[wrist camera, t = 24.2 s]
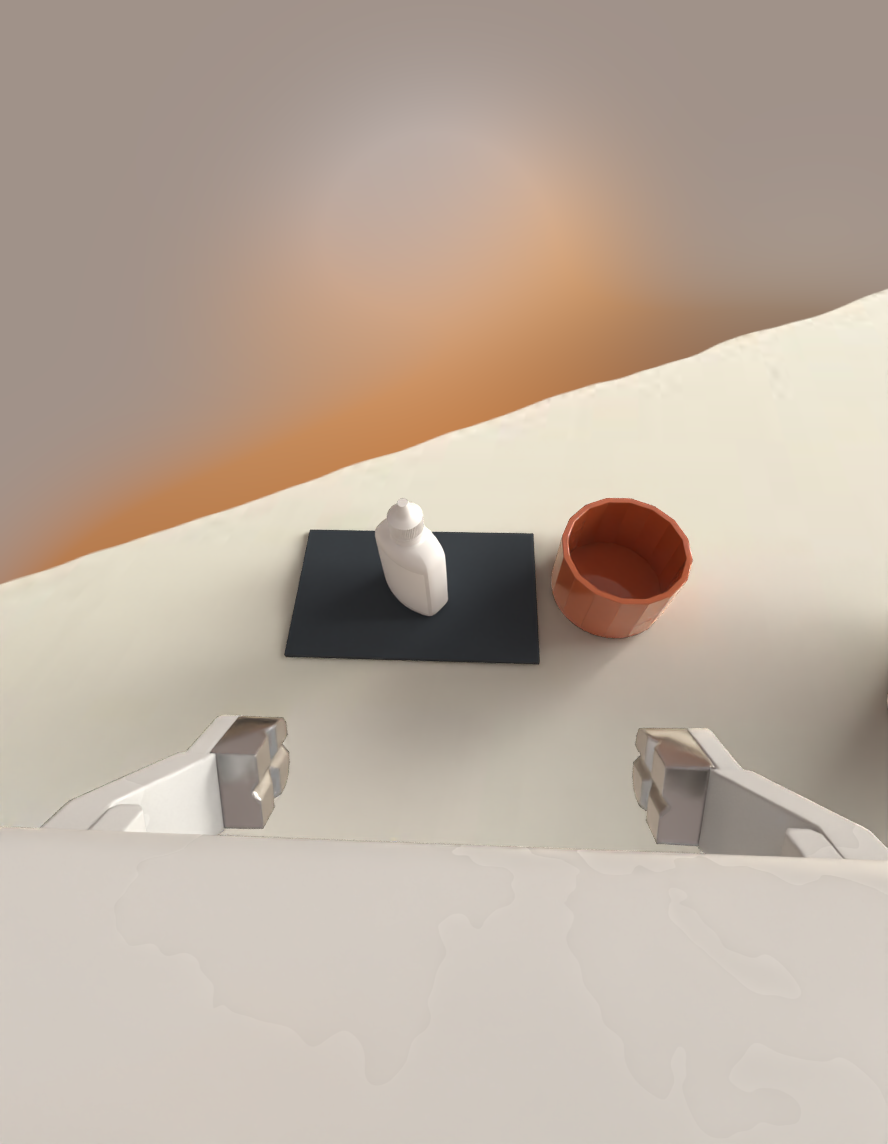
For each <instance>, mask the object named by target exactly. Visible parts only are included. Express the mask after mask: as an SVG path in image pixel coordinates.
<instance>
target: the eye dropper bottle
mask: <svg viewBox="0 0 888 1144" xmlns="http://www.w3.org/2000/svg"><path fill="white" fill-rule="evenodd" d="M375 538H376V543H377V547H378V551H379V555H380V559H381V563H382V567H383V571H384V575H385V578H386V581H387V584H388V586H389V588H390V589H391V591H392V593H393V594H394V595H395V597H396V598H397V599H398V600H399V601H400V602H401V603H402V604H404V605H405V606H406V607H408V608H409V609H411V610H413V611H415V612H417V613H420V614H422V615H426V616H433V615H434V614H436V613H437V612H438V611H439V610H440V609H441V608H442V607H443V606H444V605H445V604H446V603H447V601H448V591H447V575H446V561H445V554H444V551H443V549H442V547H441V545H440V543H439V541H438V540H437V539H436V537H435V536H434V535H433V533H432V532H431V531H430V530H429V529H428V528H427V527H425V526H424V519H423V512H422V510H421V508H420V507H419V506H418V505H417V504H415V503H413V502H408V500H407V499H405V498H401V499H399V500H398V501H397V503H396V504H395V505H393V506H392V507H391V508H390V509H389V510H388V513H387V518H386V519H385V520H384V521H382V522H381V523H380V524H379V525H378V526H377V528H376V530H375Z"/></svg>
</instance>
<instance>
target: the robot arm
mask: <svg viewBox="0 0 888 1144" xmlns="http://www.w3.org/2000/svg"><path fill="white" fill-rule="evenodd" d="M287 735H288V733H287V724H286V721H285V719H284V718H282V717H261V716H241V715H220V716H217V717H216V718H215V719H214V720H213V722H212V723H211V724H210V725H209V726H208V727H207V728H206V729H205V730H204V732H203V733H202V734H201V735H200V736H199V737H198V738H197V739H196V741H195V742H194V743H193V744H192V745H191V746H190V747H189V748H188V749H187V751H186V752H178V753H175V754H173V755H171V756H169V757H166V758H164V759H162V760H160V761H157V762H155V763H153V764H151V765H148V766H146V767H144V768H142V769H139V770H137V771H135V772H133V773H130V774H128V775H126V776H123V777H121V778H119V779H117V780H114V781H112V782H110V783H108V784H105V785H103V786H101V787H99V788H96V789H94V790H92V791H90V792H87V793H85V794H83V795H81V796H78V797H76V798H74V799H72V800H69V801H68V802H67V803H66V804H65V805H64V806H63V807H61V808H60V809H59V810H58V811H57V812H56V813H55V814H54V815H53V816H52V817H51V818H49V819H48V820H47V821H46V822H45V823H44V824H43V825H42V826H41V827H40V828H23V827H0V1144H888V848H887V847H886V846H885V845H884V844H883V843H882V842H881V841H880V840H879V839H878V838H877V837H876V836H875V835H874V834H873V833H872V832H871V831H870V830H868V829H866V828H864V827H862V826H860V825H858V824H856V823H854V822H852V821H850V820H848V819H846V818H844V817H842V816H840V815H838V814H836V813H834V812H832V811H830V810H828V809H826V808H824V807H822V806H820V805H818V804H816V803H814V802H813V801H811V800H809V799H807V798H805V797H803V796H801V795H799V794H797V793H795V792H793V791H791V790H789V789H787V788H785V787H783V786H781V785H779V784H777V783H775V782H773V781H771V780H769V779H767V778H765V777H763V776H761V775H759V774H757V773H755V772H753V771H751V770H743V769H742V768H741V767H740V765H739V764H738V763H737V762H736V761H735V759H734V758H733V757H732V756H731V754H730V753H729V752H728V751H727V750H726V748H725V747H724V746H723V745H722V743H721V742H720V741H719V740H718V739H717V737H716V736H715V735H714V734H713V733H712V731H711V730H709V729H707V728H639V729H638V732H637V735H636V743H635V746H636V748H637V750H638V752H639V753H640V756H639V757H638V758H637V759H636V760H635V761H634V762H633V773H632V779H633V789H634V793H635V797H636V800H637V802H638V804H639V806H640V807H641V808H643V809H644V810H645V811H647V815H646V822H647V824H648V826H649V829H650V831H651V833H652V835H653V837H654V839H655V841H656V844H670V845H686V846H699V847H698V848H699V849H700V850H701V851H702V852H703V853H705V854H702V853H676V852H650V851H623V850H597V849H571V848H544V847H518V846H492V845H466V844H440V843H414V842H388V841H362V840H336V839H310V838H284V837H258V836H232V835H219V834H220V833H221V832H223V831H224V828H237V829H263V828H264V826H265V825H266V823H267V821H268V819H269V817H270V815H271V813H272V811H273V809H274V808H275V806H274V798H276V797H277V796H279V795H280V794H282V792H283V790H284V788H285V786H286V783H287V779H288V775H289V765H290V758H289V751H288V750H287V749H286V748H285V746H284V745H283V742H284V740H285V739H286V737H287Z"/></svg>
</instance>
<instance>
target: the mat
mask: <svg viewBox="0 0 888 1144" xmlns="http://www.w3.org/2000/svg"><path fill="white" fill-rule="evenodd" d="M432 533H433V535H434V536H435V537H436V539H437V540H438V541H439V543H440V545H441V547H442V549H443V551H444V554H445V561H446V575H447V591H448V601H447V603H446V604H445V605H444V606H443V607H442V608H441V609H440V610H439V611H438V612H437V613H436V614H434V615H433V616H426V615H422V614H420V613H417V612H415V611H413V610H411V609H409V608H408V607H406V606H405V605H404V604H402V603H401V602H400V601H399V600H398V599H397V598H396V597H395V595H394V594H393V593H392V591H391V589H390V588H389V586H388V584H387V581H386V578H385V575H384V571H383V567H382V563H381V559H380V555H379V551H378V547H377V543H376V538H375V531H353V530H310V532H309V537H308V542H307V547H306V552H305V557H304V562H303V566H302V571H301V576H300V581H299V586H298V591H297V596H296V600H295V605H294V610H293V615H292V620H291V625H290V630H289V635H288V639H287V644H286V649H285V654H284V655H285V656H286V657H314V658H348V659H382V660H416V661H450V662H484V663H518V664H539V662H540V661H539V641H538V620H537V600H536V580H535V560H534V540H533V534H527V533H469V532H432Z"/></svg>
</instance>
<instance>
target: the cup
mask: <svg viewBox="0 0 888 1144" xmlns="http://www.w3.org/2000/svg"><path fill="white" fill-rule="evenodd" d="M692 561H693V559H692V554H691V550H690V545H689V541H688V538H687V537H686V535H685V534H684V533H683V531H682V530H681V529H680V527H679V526H678V524H677V523H676V522H675V520H674V519H672V518H671V517H669V516H668V515H666V514H665V513H664V512H662V511H661V510H659V509H658V508H656V507H655V506H653V505H649V504H646V503H643V502H640V501H637V500H634V499H630V498H606V499H602V500H599V501H596V502H593V503H590V504H587V505H585V506H584V507H583V508H581V509H580V510H579V511H578V512H577V513H576V514H574V515H573V516H572V517H571V518H570V519H569V521H568V524H567V526H566V528H565V531H564V533H563V535H562V538H561V542H560V545H559V549H558V553H557V556H556V560H555V563H554V567H553V570H552V574H551V577H552V579H551V586H552V592H553V596H554V599H555V601H556V603H557V605H558V607H559V608H560V610H561V611H562V613H563V614H564V615H565V616H566V617H567V618H568V619H569V620H570V621H571V622H572V623H573V624H575V625H576V626H577V627H579V628H581V629H582V630H584V631H586V632H589V633H591V634H594V635H597V636H601V637H606V638H625V637H630V636H633V635H637V634H639V633H641V632H643V631H645V630H647V629H648V628H649V627H650V626H651V625H653V624H654V623H655V621H656V620H657V619H658V618H659V617H660V616H661V615H662V614H663V612H664V611H665V610H666V608H667V607H668V606H669V604H670V603H671V602H672V600H673V599H674V598H675V596H676V595H677V594H678V592H679V591H680V590H681V588H682V587H683V586H684V584H685V583H686V582H687V580H688V576H689V572H690V569H691V565H692Z"/></svg>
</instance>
